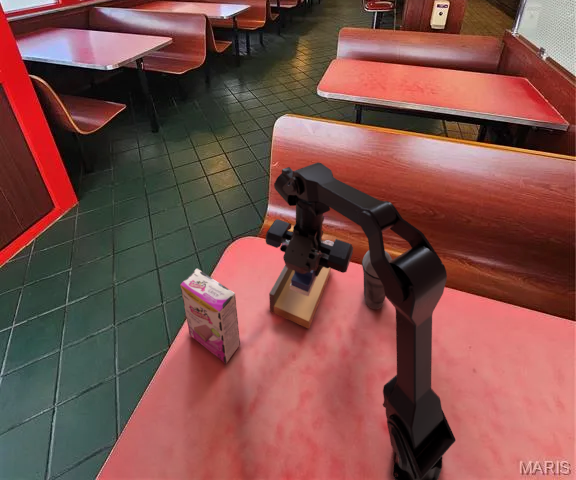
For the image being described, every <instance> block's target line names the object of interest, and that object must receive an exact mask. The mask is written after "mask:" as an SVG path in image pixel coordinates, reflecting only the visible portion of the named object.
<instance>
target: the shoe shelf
mask: <svg viewBox="0 0 576 480" xmlns="http://www.w3.org/2000/svg"><path fill="white" fill-rule="evenodd" d="M294 273H295V270H292V269H289V268H287V267H286V265H285V264H284V266H283V268H282V270H281V272H280V273H279V275H278V277H277V279H276V281H275V282H274V284H273V286H272V288H271V289H270V291H269V293H268V298H269V312H270V313H273V314H275V315H278V317H282V318H283V319H286V320H288V321H291V322H293V323H295V324H297V325H298V326H299V325H300V326H302V327H303V328H306V329H308V330H309V329H310V327H311V325H312V322H313V319H314V317H315V314H316V312H317V309H318V306H319V304H320V302H321V299H322V296H323V294H324V292H325V289H326V287H327V284H328V281H329V279H330V276H331V273H332V269H331V268H325V267H323V268H322V269H321V271H320V273H319V275H318V277H317V278H316V280H315V282H314V285H313V287H312V290H311V292H310V294H309V297H308V296H305V295H303V294H301V293H298V292H296V291H293V290H291V289H290V284H291V279H292V277H293V275H294Z"/></svg>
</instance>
